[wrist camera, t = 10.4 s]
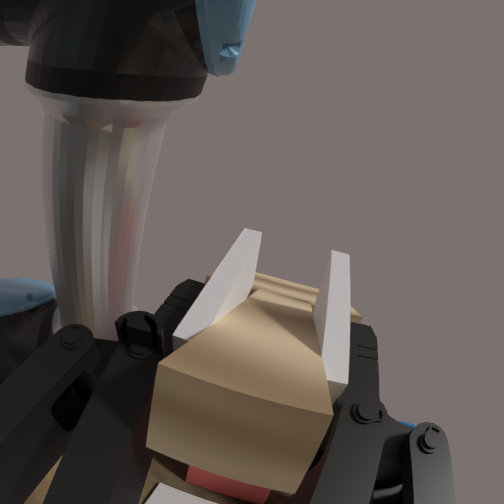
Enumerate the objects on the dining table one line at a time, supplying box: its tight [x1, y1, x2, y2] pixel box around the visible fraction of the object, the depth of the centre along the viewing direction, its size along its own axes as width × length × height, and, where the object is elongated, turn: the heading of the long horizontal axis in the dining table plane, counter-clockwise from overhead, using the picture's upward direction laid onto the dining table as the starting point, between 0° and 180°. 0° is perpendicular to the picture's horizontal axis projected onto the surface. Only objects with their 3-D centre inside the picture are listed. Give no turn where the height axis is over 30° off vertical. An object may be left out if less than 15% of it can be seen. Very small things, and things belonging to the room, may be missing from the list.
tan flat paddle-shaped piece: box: [146, 272, 362, 494], centre depth 16 cm, size 23×9×2 cm, turn 170°
